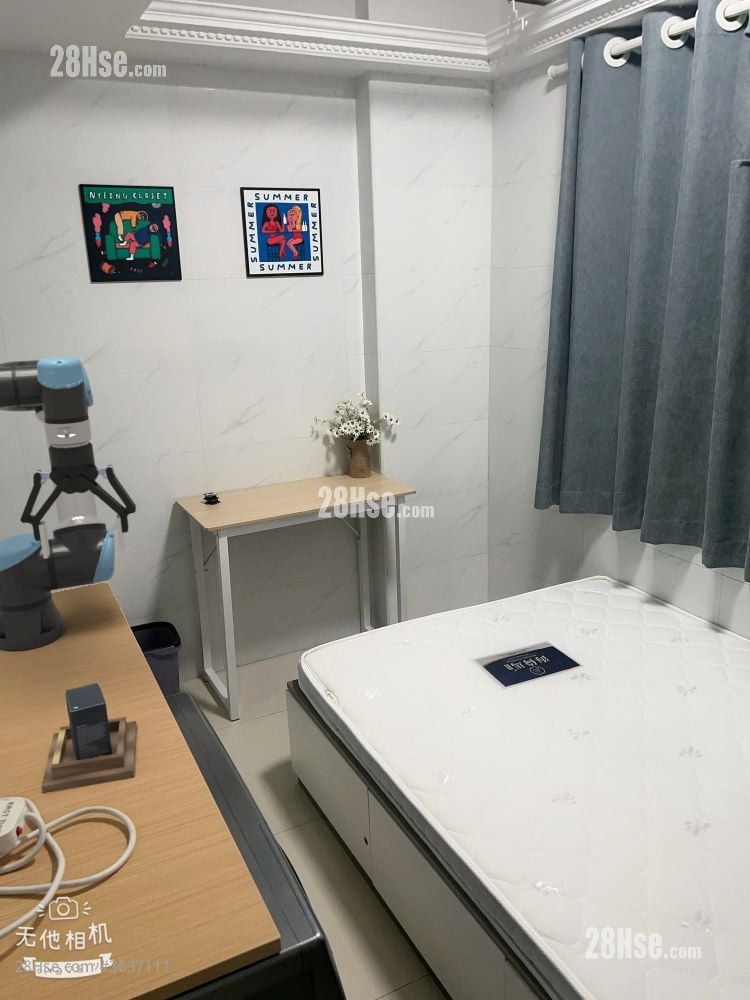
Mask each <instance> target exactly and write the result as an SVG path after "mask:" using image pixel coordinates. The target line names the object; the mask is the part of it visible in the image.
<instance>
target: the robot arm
mask: <svg viewBox="0 0 750 1000" xmlns="http://www.w3.org/2000/svg"><path fill="white" fill-rule="evenodd" d="M91 387H92V386H91V384H90V380H89V377H88V374H87V370H86V369H85V366H84V365H83V363H82V361H81V360H80V359H79V358H78V357H76V356H75V357H74V356H52V357H45V358H41V359H35V360H33V359H32V360H24V361H23V360H22V361H17V360H15V361H8V362H3V363H0V411H5V412H33V411H34V412H35V418H36V419H37V420H38V421H39V422H41V423H42V424H43V425H44V432H45V439H46V444H47V453H48V458H49V459H48V461H49V465H50V471H42V470H41V469H37V470H36V471H35V472H34V474H33V477H32V478H33V481H32V482H33V486H32V488H31V491H30V494H29V496H28V498H27V501H26V504H25V506H24V509H23V512H22V514H21V517H20V519H19V520H20V522H21V523H22V524H30V525H31V526H32V531H33V532H32V533H31V532H28V533H23V534H16V535H14V536H11V537H8V538H6V539H2V540H1V541H0V650H3V651H11V652H13V651H25V650H26V651H27V650H31V649H36V648H39V647H42V646H45V645H47V644H48V645H49V644H50V643H52V642H55V641H56V640H57V639H59V638H60V637H61V636H63V635H64V633H65V631H66V626H65V620H64V618H63V616H62V615H61V612H60V611H59V609H58V607H57V605H56V603H55V602H54V600H53V596H52V591H55V590H60V589H67V588H72V587H79V586H80V587H81V586H86V585H90V584H91V585H95V584H97V583H101V582H107V581H109V580H111V579H112V578H113V577H114V573H115V552H116V551H115V534H114V533H115V532H114V531H113V530H110V529H107V526H106V522H105V521H103V520H101V519H100V518H99V517H98V511H97V503H96V497H97V498H99V500H101V501H102V502H103V503H105V504H106V505H107V506H108V507H109V508H110V509H111V510H112V511H113V512H114V513H116V517H115V521H116V522H115V523H116V530H117V539H118V546H119V551H121V552H123V551H125V545H126V544H125V538H124V537H125V536H124V533H128V532H129V528H130V527H129V520H128V516H129V515H130V514H135V513H136V511H137V505H136V503H135V502H134V500H133V499H132V498H131V496H130V495H129V493H128V492H127V490H126V489H125V487H124V485H123V484H122V483H121V482H120V480H119V479H118V477H117V476H116V473H115V468H114V466H113V465H112V464H108V465H107V466H103V467H97V466H96V463H95V462H96V461H95V455H94V454H95V453H94V448H93V447H94V446H93V444H92V442H91V440H93V439H92V432H91V431H92V430H91V423H90V422H91V421H90V418H89V408H90V407H91V406H93V405H94V398H93V393H92V389H91ZM99 475H101V476H102V477H103V479H104V480H105V479H106V480H107V481H108V483H109V484H110V486H111V487H112V489H113V490H114V491H115V493H116V494H117V496H118V497H119V499H120V500H121V502H122V503H123V504H124V505H122V503H120V502H119V501H118V500H117V499H115V498H114V497H113V495H111V494H110V493H109V492H107V490H105V489H104V488H103V487H102V486H101V484H100V483H98V482H97V481H96V480H97V479H98V477H99ZM49 479H50V480H51V482H52V487H53V491H51V493H50V495H49V496H48V497H47V499H46V500H45V501H44V503H43V504H42V505H41V507H40V508H39V509H38V511H37V512H36V514H32V512H33V509H34V508H35V504H36V502H37V499H38V496H39V494H40V492H41V488H42V486H43V485H44V484H46V482H47V480H49ZM54 504H55V507H56V512H57V513H56V515H57V521H58V523H57V525H56V526H55V527H54V528H53V530H52V536H53V537H52V538H49V537H48V531H47V530H48V529H47V525H46V520H43V518H44V517H45V515H46V514H47V513H48V512H49V510H50V508H51V507H52V506H53V505H54Z"/></svg>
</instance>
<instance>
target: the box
mask: <svg viewBox="0 0 750 1000" xmlns="http://www.w3.org/2000/svg"><path fill="white" fill-rule="evenodd" d="M64 696H65V702H66V708H67V714H68V715H67V716H68V721H69V726H70V730H71V737H72V743H73V748H74V752H75V756H76V760H82V759H88V758H94V757H100V756H106V755H112V748H111V740H110V732H109V724H108V720H109V717H108V711H107V710H108V708H107V704H106V700H105V697H104V695H103V692H102V688H101V687H100V684H99V682H95V683H91V684H88V685H87V684H86V685H82V686H78V687H74V688H70V689H66V690H64Z"/></svg>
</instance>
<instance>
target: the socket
mask: <svg viewBox="0 0 750 1000" xmlns="http://www.w3.org/2000/svg"><path fill="white" fill-rule="evenodd" d="M108 724H109V732H110V740H111V748H112V755H106V756H100V757H94V758H88V759H82V760H76V756H75V752H74V748H73V743H72V737H71V730H70V725H65V726H59V727H60V728H59V731H58V732H56V733H53V737H52V741H51V745H50V748H49V752H48V757H47V760H46V766H45V770H44V774H43V779H42V782H41V792H42V794H43V793H49V792H54V791H61V790H67V789H71V788H77V787H83V786H89V785H95V784H100V783H105V782H111V781H117V780H122V779H128V778H134V777H135V763H136V760H135V759H136V747H137V746H136V744H137V730H138V729H137V727H138V725H137V720H132V721H127V718H126V716H124V717H115V718H108Z"/></svg>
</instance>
